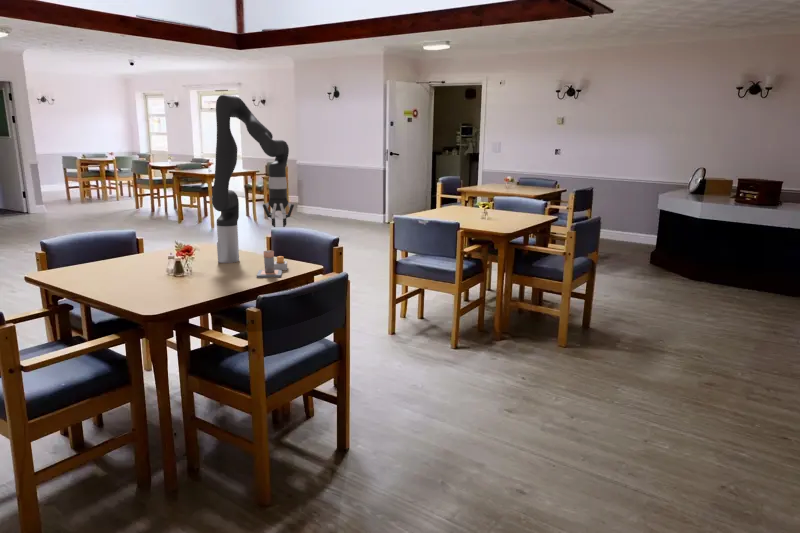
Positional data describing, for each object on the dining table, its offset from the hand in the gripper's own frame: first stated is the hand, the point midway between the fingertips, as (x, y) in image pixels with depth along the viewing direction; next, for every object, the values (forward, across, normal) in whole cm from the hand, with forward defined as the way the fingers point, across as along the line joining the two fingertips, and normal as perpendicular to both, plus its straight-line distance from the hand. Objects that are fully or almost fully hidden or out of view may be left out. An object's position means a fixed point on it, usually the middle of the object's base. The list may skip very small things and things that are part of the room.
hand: (279, 226), depth 247 cm
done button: (+17, 0, 0) cm, 17 cm away
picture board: (+19, +4, +10) cm, 22 cm away
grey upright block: (+18, +4, +10) cm, 21 cm away
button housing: (+19, 0, 0) cm, 19 cm away
